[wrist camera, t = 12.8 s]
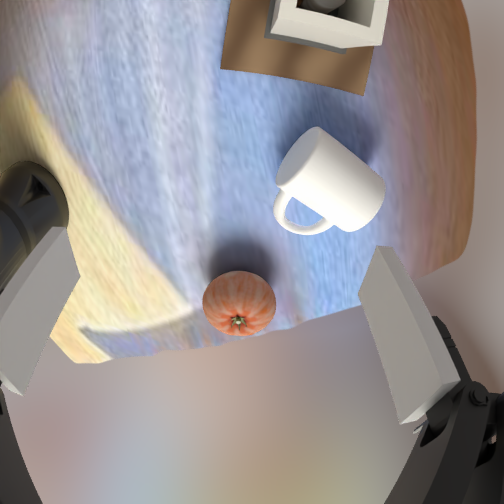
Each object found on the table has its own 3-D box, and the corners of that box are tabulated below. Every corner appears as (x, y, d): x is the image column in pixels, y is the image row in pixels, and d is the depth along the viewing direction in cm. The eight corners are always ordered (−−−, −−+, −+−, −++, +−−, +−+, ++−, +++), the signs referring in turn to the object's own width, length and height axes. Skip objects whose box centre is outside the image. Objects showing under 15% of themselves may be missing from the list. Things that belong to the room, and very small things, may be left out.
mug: (312, 119, 32) (327, 135, 25) (371, 167, 35) (396, 193, 29) (254, 194, 38) (254, 227, 31) (314, 231, 41) (325, 268, 35)
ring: (263, 38, 24) (264, 36, 23) (275, -28, 19) (276, -32, 18) (341, 54, 24) (345, 54, 23) (353, -10, 20) (357, -13, 18)
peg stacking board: (221, 68, 28) (203, 71, 19) (242, -51, 19) (235, -97, 9) (360, 94, 30) (406, 114, 20) (381, -20, 20) (433, -43, 10)
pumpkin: (288, 291, 48) (292, 330, 41) (234, 318, 51) (232, 355, 45) (247, 246, 43) (245, 285, 36) (191, 280, 46) (182, 318, 40)
